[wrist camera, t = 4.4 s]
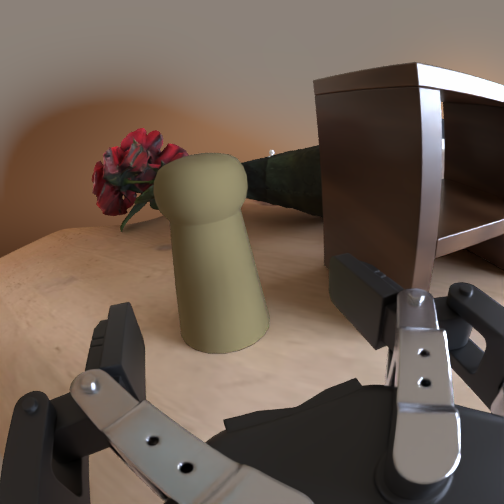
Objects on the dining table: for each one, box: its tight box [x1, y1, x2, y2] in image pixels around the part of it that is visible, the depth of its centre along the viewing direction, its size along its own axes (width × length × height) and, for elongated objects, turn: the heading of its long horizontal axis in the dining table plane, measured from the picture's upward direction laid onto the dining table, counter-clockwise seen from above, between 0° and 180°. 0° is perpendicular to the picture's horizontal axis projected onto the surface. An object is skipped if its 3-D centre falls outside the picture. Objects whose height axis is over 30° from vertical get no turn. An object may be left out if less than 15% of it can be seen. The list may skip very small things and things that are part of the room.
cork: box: [154, 153, 270, 353], centre depth 19 cm, size 6×6×11 cm
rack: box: [313, 62, 504, 293], centre depth 20 cm, size 16×11×15 cm
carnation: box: [92, 128, 323, 232], centre depth 43 cm, size 16×18×35 cm
